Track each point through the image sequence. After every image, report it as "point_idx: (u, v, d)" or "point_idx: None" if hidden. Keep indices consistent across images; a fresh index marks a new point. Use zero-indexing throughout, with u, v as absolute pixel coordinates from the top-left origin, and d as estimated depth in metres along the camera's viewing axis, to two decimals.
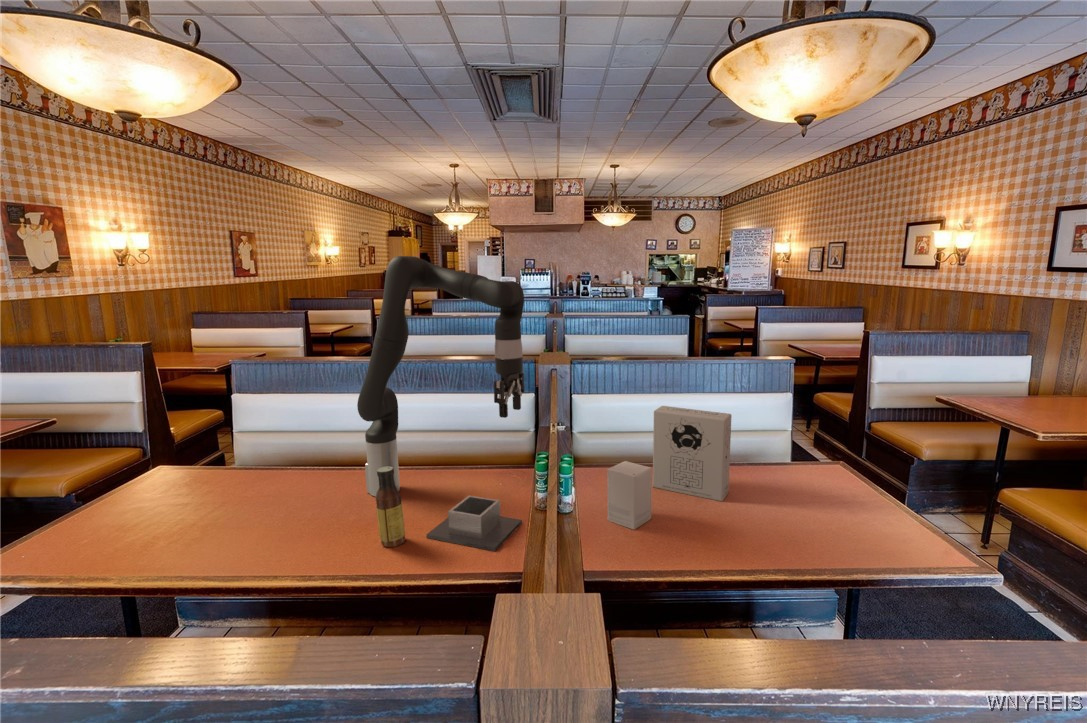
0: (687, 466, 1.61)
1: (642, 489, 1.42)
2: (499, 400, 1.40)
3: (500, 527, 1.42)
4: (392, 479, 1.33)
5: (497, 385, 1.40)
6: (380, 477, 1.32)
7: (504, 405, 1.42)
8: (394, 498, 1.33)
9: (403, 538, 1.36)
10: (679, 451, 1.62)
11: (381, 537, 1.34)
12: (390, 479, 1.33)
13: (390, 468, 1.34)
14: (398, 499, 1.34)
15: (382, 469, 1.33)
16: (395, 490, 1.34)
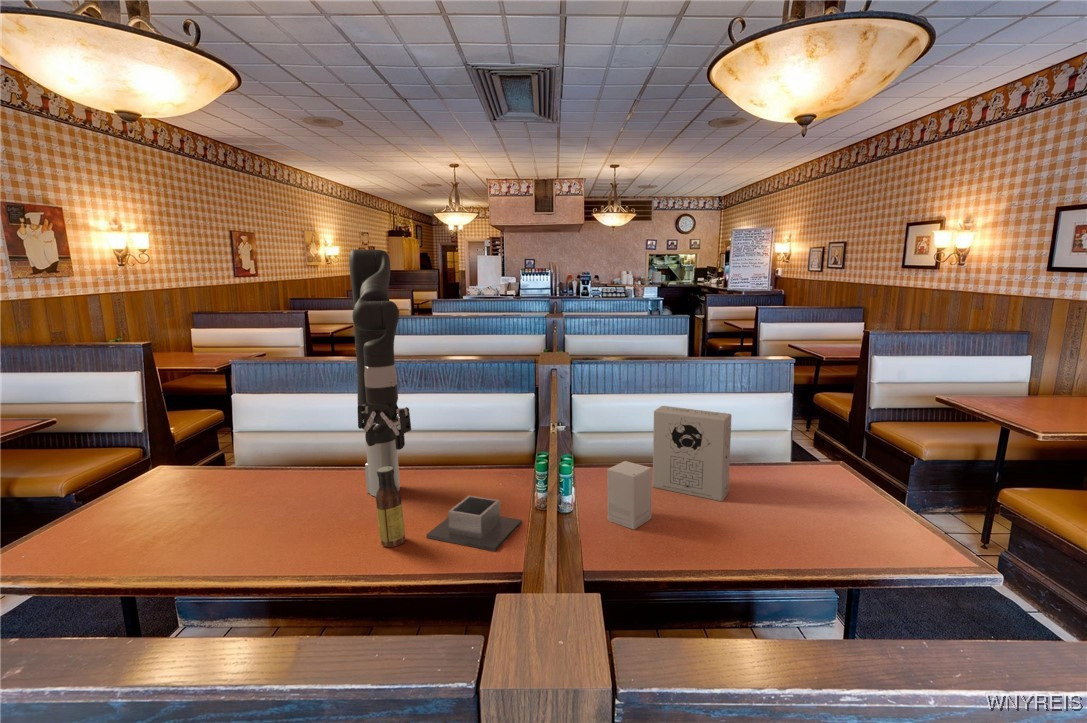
0: (687, 466, 1.61)
1: (642, 488, 1.42)
2: (408, 428, 1.29)
3: (500, 527, 1.42)
4: (392, 479, 1.33)
5: (405, 413, 1.28)
6: (380, 477, 1.32)
7: None
8: (394, 498, 1.33)
9: (403, 538, 1.36)
10: (679, 451, 1.62)
11: (381, 537, 1.34)
12: (391, 479, 1.33)
13: (390, 468, 1.34)
14: (398, 499, 1.34)
15: (382, 469, 1.33)
16: (395, 490, 1.34)
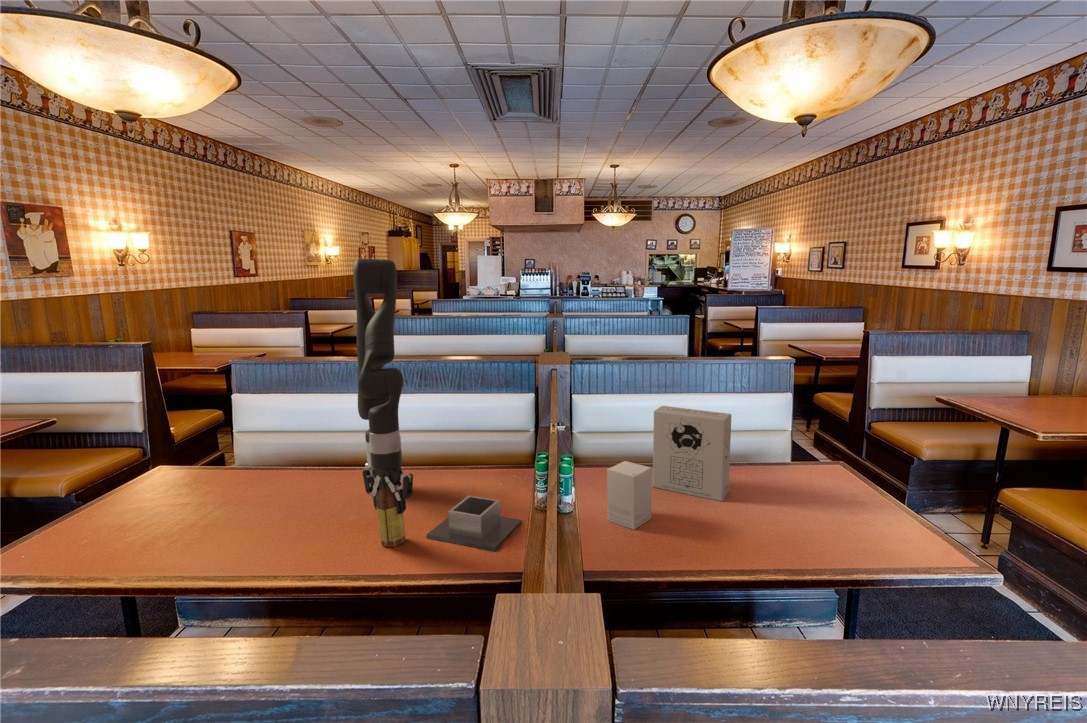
0: (687, 466, 1.61)
1: (642, 489, 1.41)
2: (409, 494, 1.33)
3: (500, 527, 1.42)
4: None
5: (409, 480, 1.31)
6: (380, 477, 1.32)
7: None
8: (394, 498, 1.33)
9: (403, 538, 1.36)
10: (679, 451, 1.62)
11: (381, 537, 1.34)
12: None
13: None
14: None
15: None
16: None
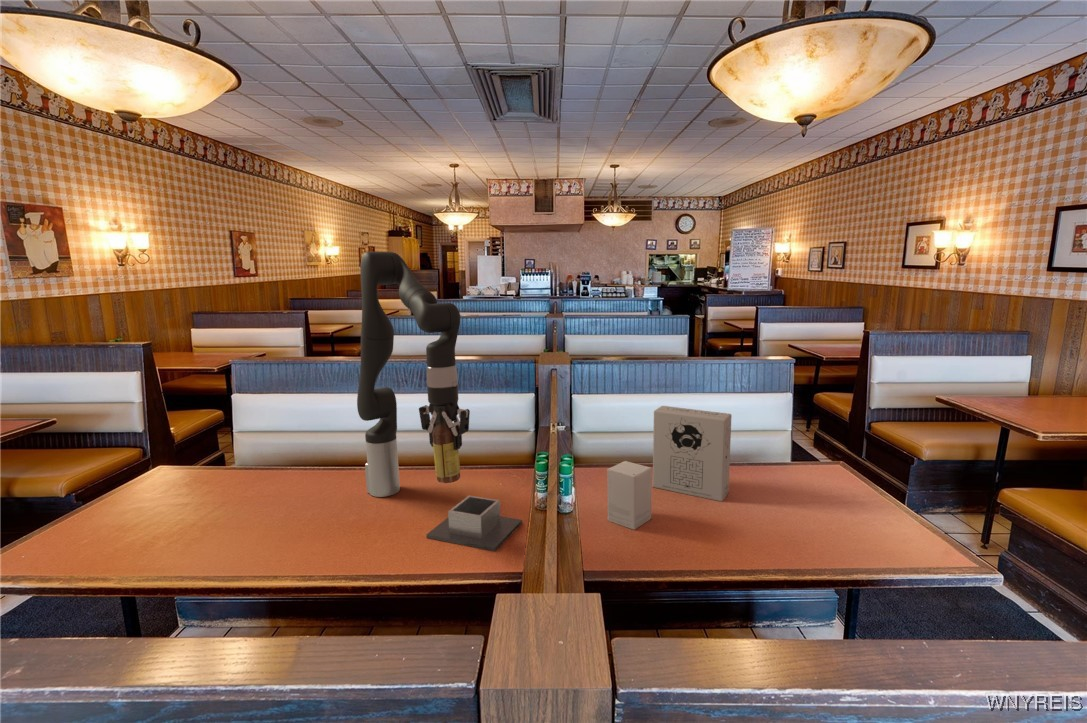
0: (687, 466, 1.61)
1: (642, 489, 1.41)
2: (466, 429, 1.33)
3: (500, 527, 1.42)
4: None
5: (466, 415, 1.32)
6: (437, 412, 1.33)
7: None
8: (450, 434, 1.33)
9: (458, 475, 1.37)
10: (679, 451, 1.62)
11: (437, 473, 1.35)
12: None
13: None
14: None
15: None
16: None
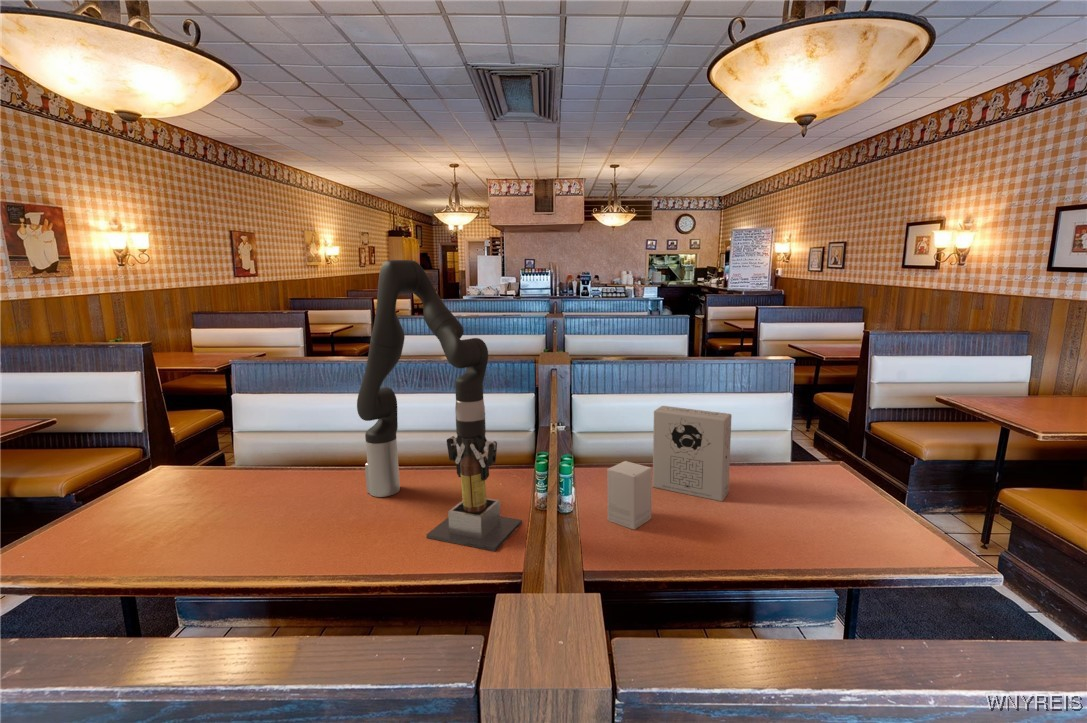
0: (687, 466, 1.61)
1: (642, 489, 1.41)
2: (493, 461, 1.37)
3: (500, 527, 1.42)
4: None
5: (494, 447, 1.36)
6: (466, 444, 1.37)
7: None
8: (478, 465, 1.37)
9: (485, 504, 1.41)
10: (679, 451, 1.62)
11: (465, 503, 1.39)
12: None
13: None
14: None
15: None
16: None
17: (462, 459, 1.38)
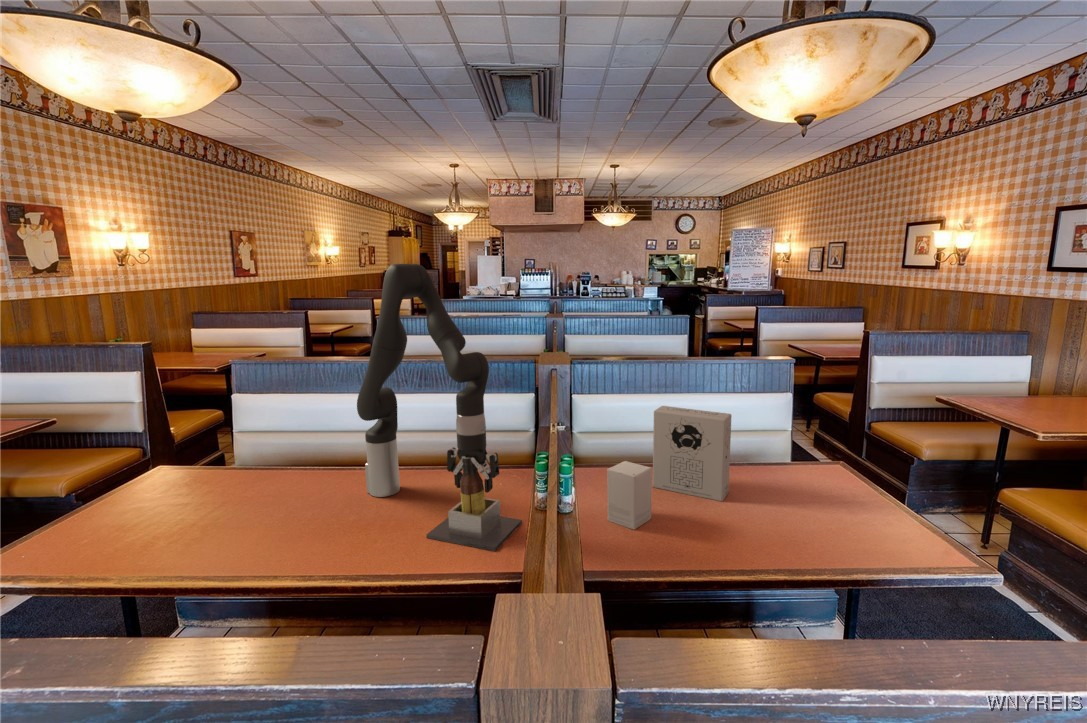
0: (687, 466, 1.61)
1: (642, 489, 1.42)
2: (497, 473, 1.37)
3: (500, 527, 1.42)
4: None
5: (495, 458, 1.36)
6: (465, 463, 1.38)
7: None
8: (478, 484, 1.38)
9: None
10: (679, 451, 1.62)
11: None
12: None
13: None
14: (481, 485, 1.39)
15: None
16: (479, 476, 1.39)
17: (462, 478, 1.39)
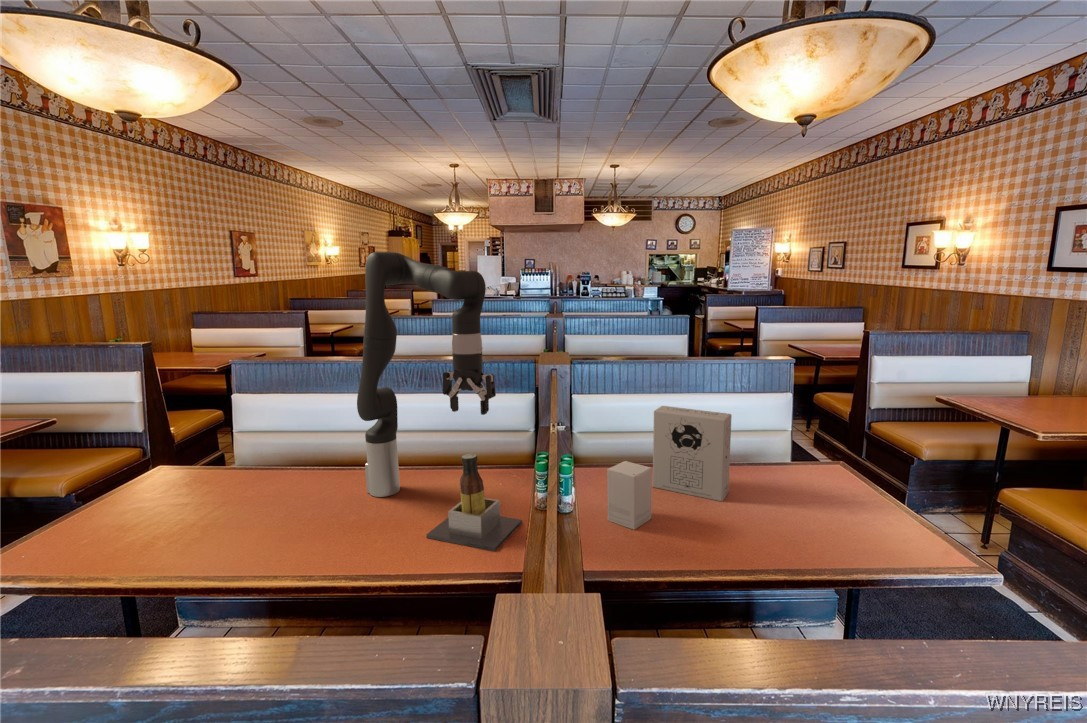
0: (687, 466, 1.61)
1: (642, 489, 1.42)
2: (493, 394, 1.35)
3: (500, 527, 1.42)
4: (476, 465, 1.39)
5: (491, 379, 1.34)
6: (465, 463, 1.38)
7: None
8: (478, 484, 1.38)
9: None
10: (679, 451, 1.62)
11: None
12: (475, 465, 1.38)
13: (474, 455, 1.39)
14: (481, 485, 1.39)
15: (466, 456, 1.39)
16: (479, 476, 1.39)
17: (462, 478, 1.39)
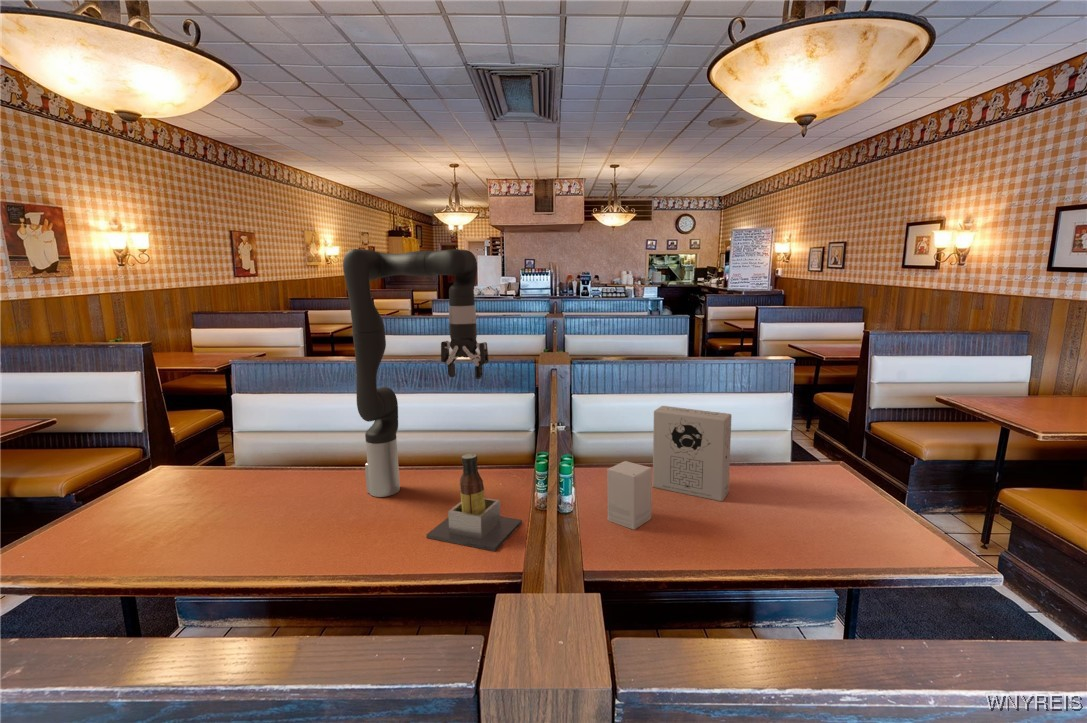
0: (687, 466, 1.61)
1: (642, 489, 1.41)
2: (486, 360, 1.50)
3: (500, 527, 1.42)
4: (476, 465, 1.39)
5: (484, 346, 1.49)
6: (465, 463, 1.38)
7: None
8: (478, 484, 1.38)
9: None
10: (679, 451, 1.62)
11: None
12: (475, 465, 1.38)
13: (474, 455, 1.39)
14: (481, 485, 1.39)
15: (466, 456, 1.39)
16: (479, 476, 1.39)
17: (462, 478, 1.39)
